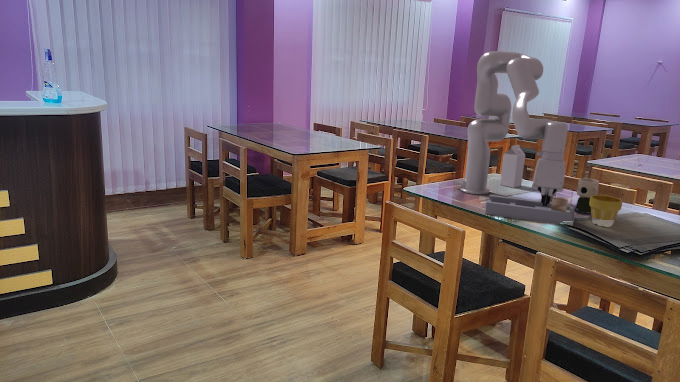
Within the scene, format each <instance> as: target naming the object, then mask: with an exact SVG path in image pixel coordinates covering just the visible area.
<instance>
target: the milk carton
mask: <svg viewBox="0 0 680 382" xmlns="http://www.w3.org/2000/svg"><path fill="white" fill-rule="evenodd" d="M520 145H521V144H516V145H511V148H510V149H508V150H507V151H506V152H504V153H503V156H502V157H503V158H502V165H501V166H502V167H501V173H500V181H499V185H500V186H504V187H507V188H513V189H515V188H518V187H521V186H522V182H523V176H524V167H525V160H526V154H525V152H524V151H523V150H522V148H521V146H520Z"/></svg>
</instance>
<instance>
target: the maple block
mask: <svg viewBox="0 0 680 382" xmlns="http://www.w3.org/2000/svg"><path fill="white" fill-rule="evenodd" d="M551 203H552V205H551V210H557V211H565V212H566V209H567V205H568V203H569V198H567V197H562V196H557V195H556V196H553V199H552V202H551Z"/></svg>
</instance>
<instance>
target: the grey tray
mask: <svg viewBox="0 0 680 382" xmlns="http://www.w3.org/2000/svg"><path fill="white" fill-rule="evenodd" d="M551 205H552V202H550V204H547V206H543V203H541V200H534V199H526V198H519V197H513V196H504V195H503V196H502V195H497V194H489V196H488V201H486V205H485V212H484V214H485V215H490V216H495V217H496V216H497V217H503V218H505V217H506V218H510V219H511V218H512V219H518V220H526V221H531V222H537V223H538V222H539V223H545V224H546V223H547V224H552V225H559V224H560V223H561V222H563V221H574V222H575V208H574V206H573V205H572V204H567V209H566V212H565V211H557V210H551Z"/></svg>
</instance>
